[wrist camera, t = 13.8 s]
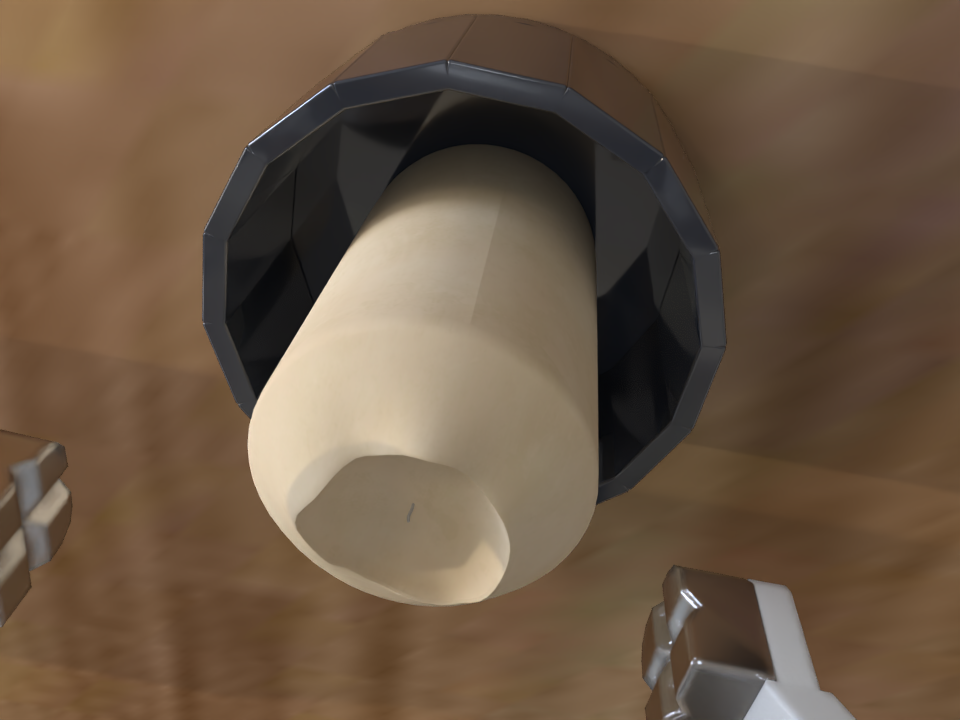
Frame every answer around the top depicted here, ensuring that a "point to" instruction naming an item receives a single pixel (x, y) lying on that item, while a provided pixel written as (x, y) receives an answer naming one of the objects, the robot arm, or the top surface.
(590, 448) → the candle
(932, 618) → the top surface
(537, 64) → the holder
